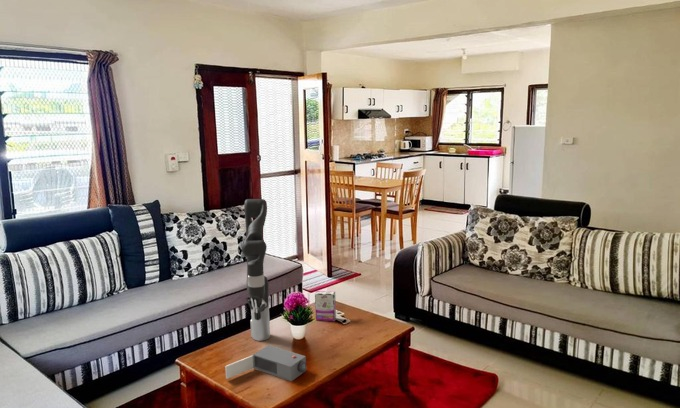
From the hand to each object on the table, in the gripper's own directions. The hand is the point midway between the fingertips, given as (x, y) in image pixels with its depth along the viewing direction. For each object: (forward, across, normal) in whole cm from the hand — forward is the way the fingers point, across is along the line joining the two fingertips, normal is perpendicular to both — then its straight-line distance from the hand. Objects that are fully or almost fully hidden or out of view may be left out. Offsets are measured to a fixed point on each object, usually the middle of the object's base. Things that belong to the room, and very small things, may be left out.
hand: (257, 319), depth 220 cm
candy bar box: (+26, -11, +59) cm, 65 cm away
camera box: (+24, +9, +4) cm, 26 cm away
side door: (+23, -2, -10) cm, 25 cm away
